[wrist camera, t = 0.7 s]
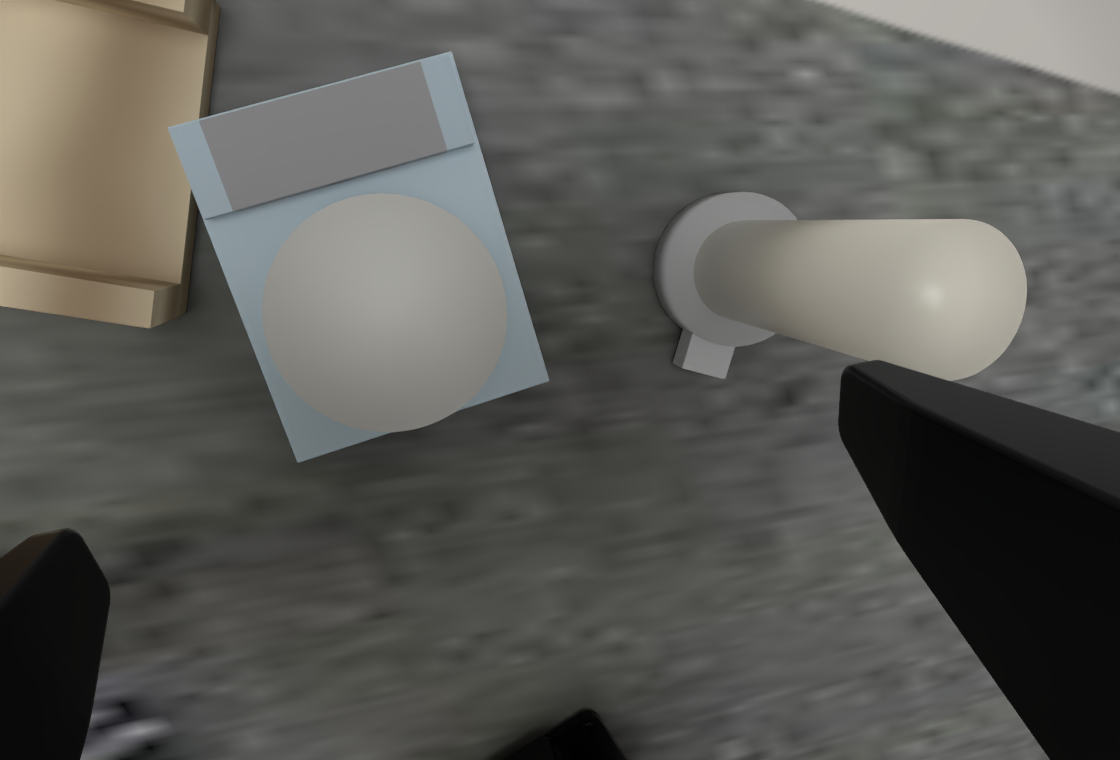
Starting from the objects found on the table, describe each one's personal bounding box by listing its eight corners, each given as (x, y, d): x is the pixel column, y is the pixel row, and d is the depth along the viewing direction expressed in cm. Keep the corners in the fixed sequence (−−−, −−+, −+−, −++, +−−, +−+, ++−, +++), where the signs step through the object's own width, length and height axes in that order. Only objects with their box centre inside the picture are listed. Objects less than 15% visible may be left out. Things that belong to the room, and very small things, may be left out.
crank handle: (677, 174, 26) (889, 137, 15) (809, 217, 27) (1101, 212, 16) (626, 350, 27) (788, 446, 16) (755, 384, 28) (996, 496, 17)
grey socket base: (539, 369, 27) (555, 387, 24) (305, 444, 26) (293, 473, 23) (448, 64, 24) (453, 43, 21) (187, 135, 23) (155, 122, 20)
